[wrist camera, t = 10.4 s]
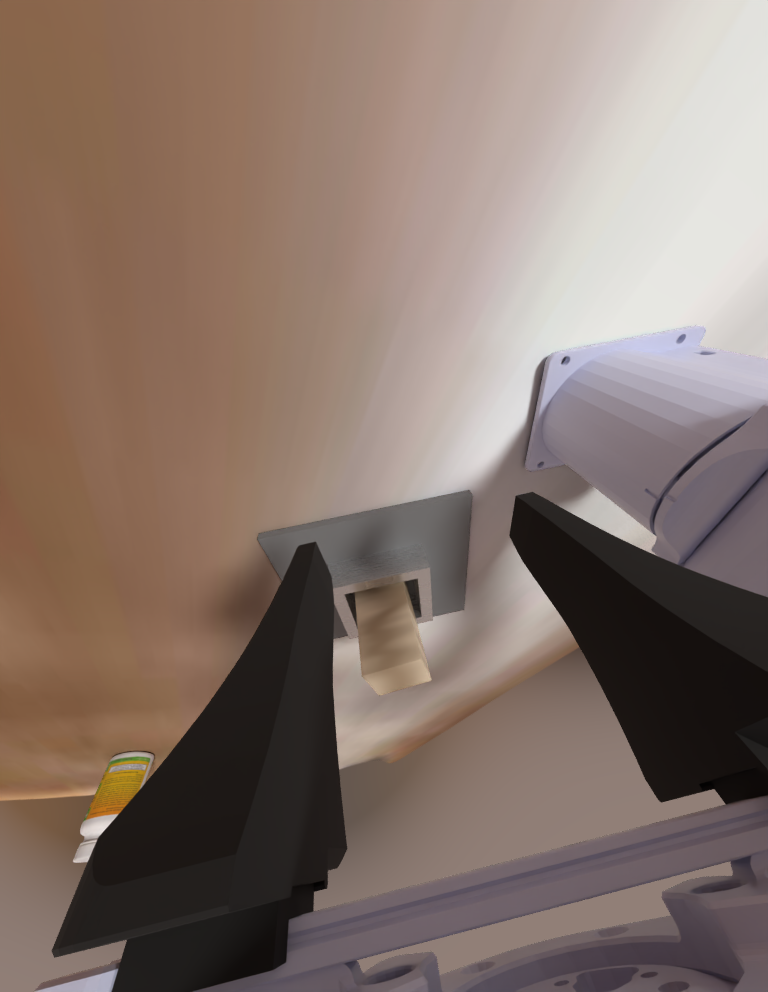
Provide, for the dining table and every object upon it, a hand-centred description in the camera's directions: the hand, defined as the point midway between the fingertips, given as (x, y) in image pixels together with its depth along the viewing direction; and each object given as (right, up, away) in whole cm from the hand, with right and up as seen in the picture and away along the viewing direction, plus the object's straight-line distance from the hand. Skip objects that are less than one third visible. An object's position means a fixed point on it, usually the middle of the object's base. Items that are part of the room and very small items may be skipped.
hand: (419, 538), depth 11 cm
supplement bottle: (-39, -37, +33) cm, 63 cm away
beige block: (-2, -6, +16) cm, 17 cm away
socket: (-2, -6, +16) cm, 17 cm away
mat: (-2, -6, +16) cm, 17 cm away
